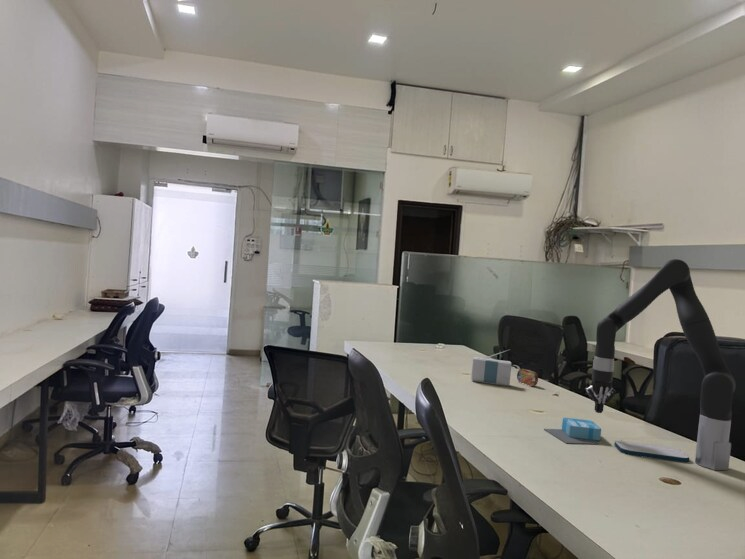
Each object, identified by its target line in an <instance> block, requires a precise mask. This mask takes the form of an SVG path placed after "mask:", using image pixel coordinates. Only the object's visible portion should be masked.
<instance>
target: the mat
mask: <svg viewBox="0 0 745 559" xmlns="http://www.w3.org/2000/svg"><path fill="white" fill-rule="evenodd" d="M543 430H544V431H545V432H546V433H549V435H551V436H553V437H555V438H556V439H557V440H559V441H561V442H562V443H565V444H566V445H567V444H568V445H569V444H570V445H598V444H600V442H598V441H597V440H589V439H581V438H572V437H569V436H568V435H567V434H566V433H565V432H564V431H563V429H562V428H543Z"/></svg>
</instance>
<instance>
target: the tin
mask: <svg viewBox="0 0 745 559" xmlns="http://www.w3.org/2000/svg"><path fill="white" fill-rule="evenodd" d="M516 373H517V374H516V379H517V381H518V383H520V382H521V383H520V384H522V383H524V384H523V385H525V384H527V385H526V386H528V385H529V386H528V387H536V386H537V385H538V382H539V375H538V374H537V372H536V371H533V370H530V369H525V368H520V369H519V370H518V371H517V372H516Z"/></svg>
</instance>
